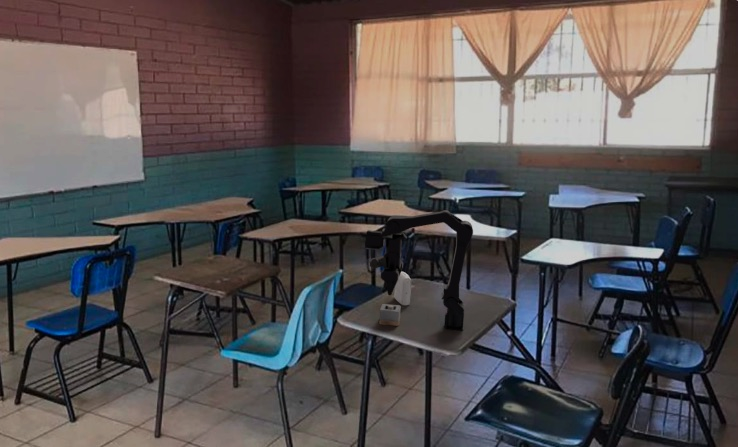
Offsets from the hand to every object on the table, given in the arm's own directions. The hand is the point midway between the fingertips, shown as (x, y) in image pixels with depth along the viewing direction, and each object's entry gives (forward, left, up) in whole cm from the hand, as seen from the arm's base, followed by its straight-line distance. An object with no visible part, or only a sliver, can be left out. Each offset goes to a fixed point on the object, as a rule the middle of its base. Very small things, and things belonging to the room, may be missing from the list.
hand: (391, 291), depth 231 cm
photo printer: (-2, -25, -12) cm, 28 cm away
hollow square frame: (0, 0, -10) cm, 10 cm away
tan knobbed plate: (0, 0, -12) cm, 12 cm away
